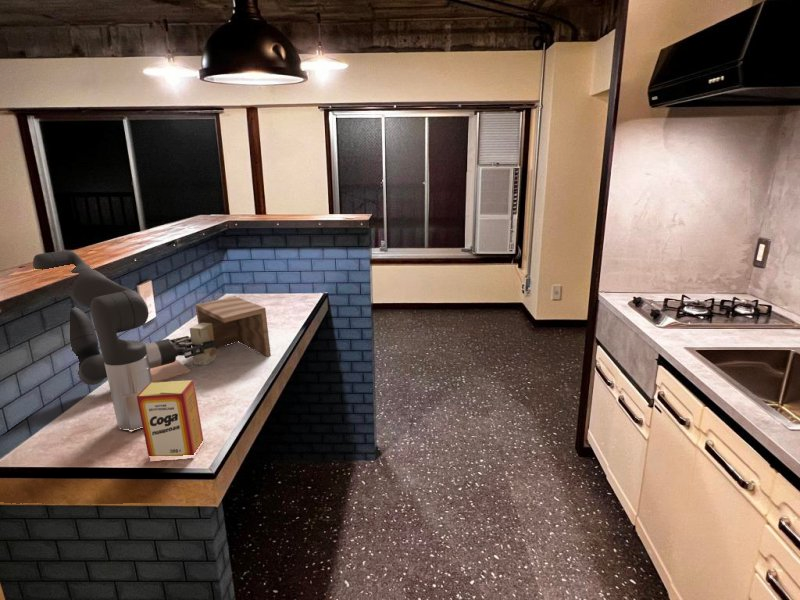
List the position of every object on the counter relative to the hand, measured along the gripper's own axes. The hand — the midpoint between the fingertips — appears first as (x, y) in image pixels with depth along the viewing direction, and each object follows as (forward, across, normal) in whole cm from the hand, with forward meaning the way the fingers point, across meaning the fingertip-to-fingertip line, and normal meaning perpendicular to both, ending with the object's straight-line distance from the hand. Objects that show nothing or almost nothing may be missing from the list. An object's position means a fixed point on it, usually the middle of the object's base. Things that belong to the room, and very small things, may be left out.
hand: (209, 340), depth 160 cm
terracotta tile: (-15, +2, +7) cm, 17 cm away
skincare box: (-2, 0, +7) cm, 7 cm away
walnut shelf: (+8, 0, +7) cm, 11 cm away
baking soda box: (-28, -47, +8) cm, 55 cm away
